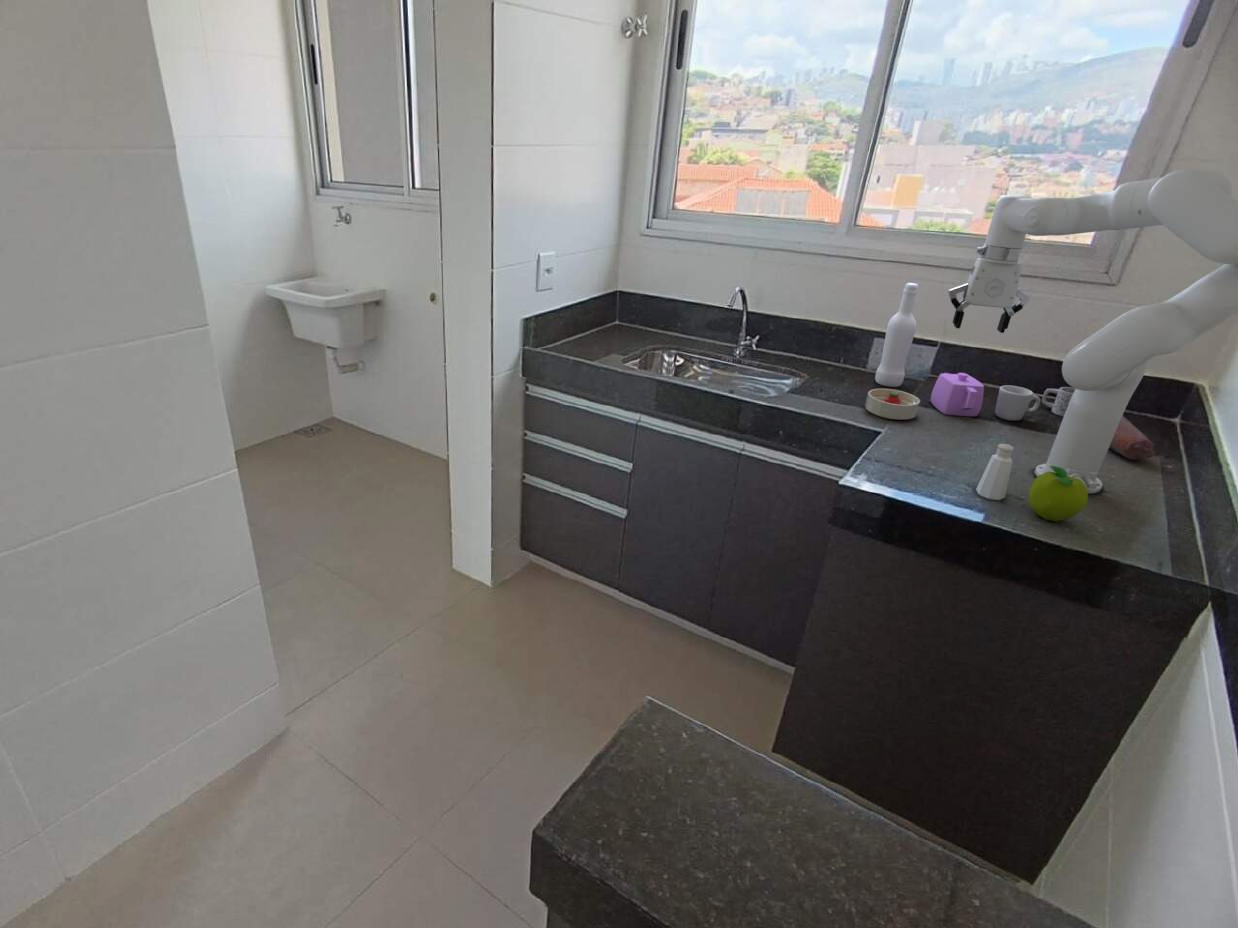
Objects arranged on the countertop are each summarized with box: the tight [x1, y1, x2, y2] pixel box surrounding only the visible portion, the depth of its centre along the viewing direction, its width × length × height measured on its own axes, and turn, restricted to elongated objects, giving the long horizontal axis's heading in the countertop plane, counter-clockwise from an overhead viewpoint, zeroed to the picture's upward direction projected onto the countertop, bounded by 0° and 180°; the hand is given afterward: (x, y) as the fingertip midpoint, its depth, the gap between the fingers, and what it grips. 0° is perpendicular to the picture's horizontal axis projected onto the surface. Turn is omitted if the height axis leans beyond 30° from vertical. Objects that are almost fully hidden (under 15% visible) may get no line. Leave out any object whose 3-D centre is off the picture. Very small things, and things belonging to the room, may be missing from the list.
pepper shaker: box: [975, 443, 1015, 501], centre depth 134 cm, size 5×5×11 cm
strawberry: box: [884, 392, 900, 405], centre depth 176 cm, size 4×4×5 cm
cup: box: [994, 384, 1041, 422], centre depth 177 cm, size 11×8×8 cm
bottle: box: [874, 282, 919, 388], centre depth 194 cm, size 8×8×30 cm
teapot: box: [930, 372, 985, 417], centre depth 181 cm, size 18×10×10 cm, turn 178°
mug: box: [1041, 386, 1075, 418], centre depth 184 cm, size 10×7×7 cm, turn 42°
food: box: [1109, 415, 1156, 461], centre depth 162 cm, size 21×9×9 cm, turn 1°
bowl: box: [864, 388, 921, 421], centre depth 176 cm, size 13×13×4 cm
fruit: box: [1028, 466, 1089, 522], centre depth 126 cm, size 9×9×10 cm
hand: (978, 329), depth 156 cm, fingers open, 9 cm apart
